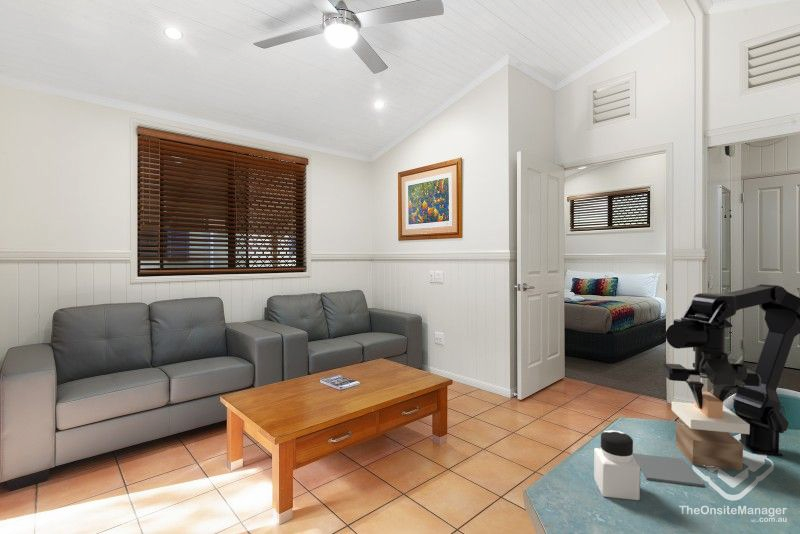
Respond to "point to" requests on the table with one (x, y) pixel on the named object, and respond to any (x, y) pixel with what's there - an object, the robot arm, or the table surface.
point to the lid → (710, 416)
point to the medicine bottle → (617, 466)
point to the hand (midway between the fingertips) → (708, 409)
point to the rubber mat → (667, 470)
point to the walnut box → (709, 447)
